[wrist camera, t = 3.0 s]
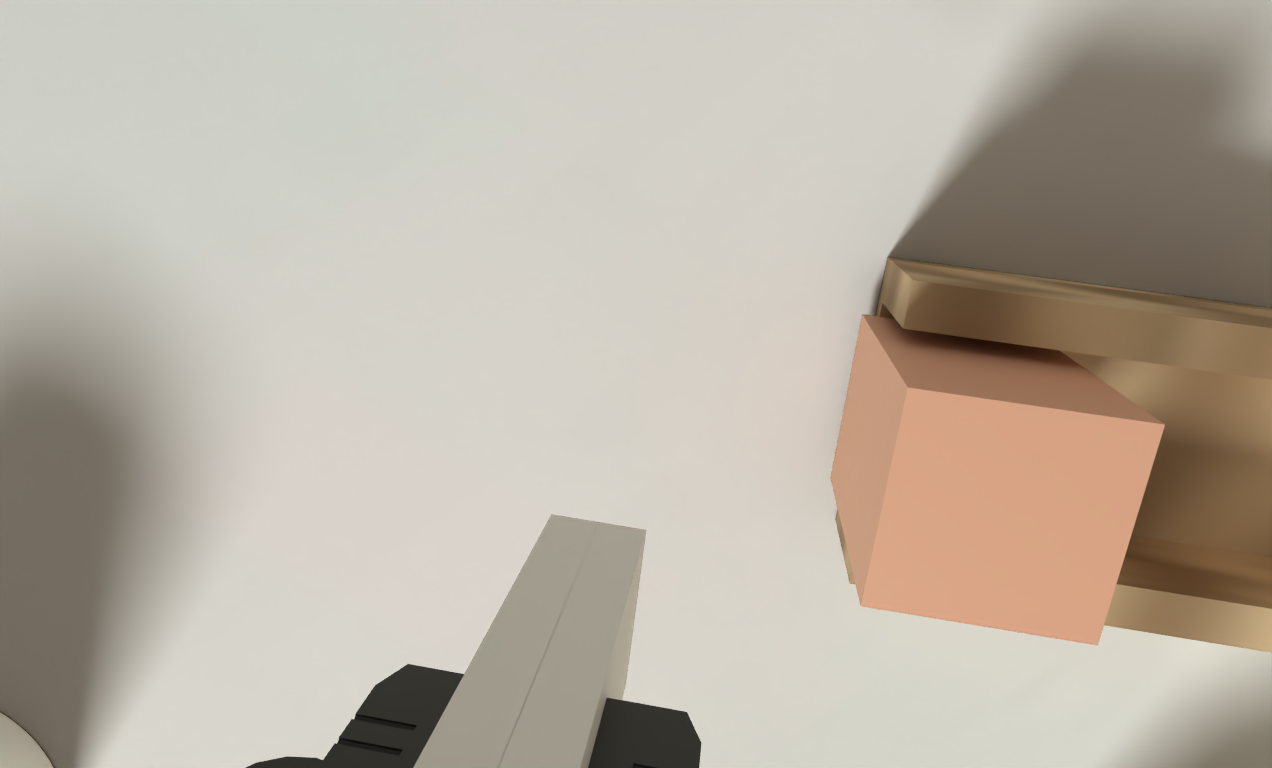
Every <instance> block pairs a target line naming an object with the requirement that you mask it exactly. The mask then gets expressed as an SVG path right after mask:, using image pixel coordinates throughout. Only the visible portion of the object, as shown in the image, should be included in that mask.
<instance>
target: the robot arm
mask: <svg viewBox="0 0 1272 768" xmlns="http://www.w3.org/2000/svg"><path fill="white" fill-rule="evenodd" d="M645 536H646V530H643V529H637V528H631V527H625V526H619V525H613V524H607V523H601V522H595V521H588V520H582V519H576V518H570V517H564V516H558V515H551V516H550V518H549V520H548V522H547V524H546V526H545V527H544V529H543V531H542V533H541V535H540V537H539V538H538V540H537V542H536V544H535V546H534V548H533V549H532V551H531V553H530V555H529V557H528V558H527V560H526V562H525V564H524V566H523V568H522V569H521V571H520V573H519V575H518V577H517V579H516V580H515V582H514V584H513V586H512V588H511V590H510V591H509V593H508V595H507V597H506V599H505V601H504V602H503V604H502V606H501V608H500V610H499V612H498V613H497V615H496V617H495V619H494V621H493V623H492V624H491V626H490V628H489V630H488V632H487V634H486V635H485V637H484V639H483V641H482V643H481V645H480V646H479V648H478V650H477V652H476V654H475V656H474V657H473V659H472V661H471V663H470V665H469V667H468V668H467V670H466V672H465V674H460V673H454V672H449V671H443V670H438V669H432V668H427V667H422V666H416V665H411V664H408V665H406V666H404V667H403V668H401V669H400V670H398V671H397V672H395V673H394V674H392V675H391V676H389V677H388V678H386V679H384V680H383V681H381V682H380V683H378V684H377V685H375V687H374V688H373V690H372V691H371V692H370V694H369V695H368V697H367V698H366V700H365V701H364V702H363V704H362V705H361V707H360V708H359V710H358V711H357V713H356V715H355V719H354V720H353V719H352V720H351V721H350V723H349V724H348V725H347V727H346V728H345V730H344V731H343V733H342V734H341V735H340V737H339V741H338V743H337V744H334V745H333V747H332V748H331V750H330V751H329V753H328V754H327V755H326V757H325V758H324V760H320V759H318V758H305V757H283V758H278V759H273V760H268V761H263V762H258V763H255V764H253V765H251V766H248V767H246V768H699V763H700V751H701V741H700V739H699V737H698V735H697V733H696V731H695V729H694V726H693V724H692V722H691V720H690V718H689V716H688V714H687V712H683V711H678V710H672V709H667V708H661V707H656V706H650V705H645V704H639V703H634V702H629V701H623V700H622V697H623V693H624V689H625V685H626V679H627V671H628V664H629V656H630V649H631V641H632V634H633V626H634V619H635V611H636V604H637V596H638V589H639V581H640V574H641V566H642V558H643V551H644V543H645Z"/></svg>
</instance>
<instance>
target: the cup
mask: <svg viewBox="0 0 1272 768" xmlns="http://www.w3.org/2000/svg"><path fill="white" fill-rule="evenodd" d="M0 768H53V766H52V764H51V762H50V761H49V759H48V758H47V756H46V754H45V753H44V752H43V750H42V749H41V748H40V746H39V745H38V744H37V743H36V742H35V741H34V740H33V738H32V737H31V736H30V735H29V734H28V733H27V732H26V731H25V730H23V729H22V728H21V727H20V726H19V725H17V724H16V723H15V722H14V721H12V720H11V719H9V718H8V717H7V716H5V715H3V714H2V713H0Z"/></svg>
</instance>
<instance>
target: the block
mask: <svg viewBox="0 0 1272 768" xmlns="http://www.w3.org/2000/svg"><path fill="white" fill-rule="evenodd" d="M1164 427H1165V424H1163V423H1162V422H1161V421H1159V420H1158V419H1156V418H1155V417H1153V416H1152V415H1151V414H1149V413H1148V412H1146V411H1145V410H1143V409H1142V408H1141V407H1139V406H1138V405H1136V404H1135V403H1134V402H1132V401H1131V400H1129V399H1128V398H1126V397H1125V396H1124V395H1122V394H1121V393H1119V392H1118V391H1116V390H1115V389H1114V388H1112V387H1111V386H1109V385H1108V384H1106V383H1105V382H1104V381H1102V380H1101V379H1099V378H1098V377H1097V376H1095V375H1094V374H1092V373H1091V372H1089V371H1088V370H1087V369H1085V368H1084V367H1082V366H1081V365H1079V364H1078V363H1077V362H1075V361H1074V360H1072V359H1071V358H1070V357H1068V356H1067V355H1065V354H1064V353H1062V352H1061V351H1060V350H1053V349H1046V348H1039V347H1032V346H1025V345H1017V344H1010V343H1003V342H996V341H989V340H981V339H974V338H967V337H960V336H953V335H945V334H938V333H931V332H924V331H917V330H909V329H903V328H902V327H901V325H900V324H899V323H898V322H897V320H896V319H892V318H885V317H878V316H871V315H863V314H862V318H861V323H860V328H859V333H858V338H857V344H856V349H855V354H854V359H853V364H852V369H851V374H850V380H849V385H848V390H847V395H846V400H845V405H844V410H843V416H842V421H841V426H840V431H839V436H838V441H837V447H836V452H835V457H834V462H833V467H832V472H831V477H830V478H831V482H832V486H833V491H834V495H835V499H836V503H837V507H838V512H839V516H840V520H841V524H842V529H843V533H844V537H845V541H846V546H847V550H848V554H849V558H850V562H851V567H852V571H853V575H854V579H855V584H856V588H857V592H858V596H859V601H860V605H861V606H863V607H869V608H875V609H881V610H887V611H893V612H899V613H905V614H911V615H917V616H923V617H929V618H935V619H942V620H948V621H954V622H960V623H966V624H972V625H978V626H984V627H990V628H996V629H1002V630H1008V631H1014V632H1020V633H1026V634H1032V635H1038V636H1044V637H1050V638H1056V639H1062V640H1068V641H1074V642H1080V643H1087V644H1093V645H1098V643H1099V639H1100V636H1101V633H1102V630H1103V626H1104V623H1105V620H1106V616H1107V613H1108V610H1109V607H1110V603H1111V600H1112V597H1113V594H1114V590H1115V587H1116V584H1117V580H1118V577H1119V574H1120V571H1121V567H1122V564H1123V561H1124V558H1125V554H1126V551H1127V548H1128V544H1129V541H1130V538H1131V535H1132V531H1133V528H1134V525H1135V521H1136V518H1137V515H1138V512H1139V508H1140V505H1141V502H1142V499H1143V495H1144V492H1145V489H1146V485H1147V482H1148V479H1149V476H1150V472H1151V469H1152V466H1153V463H1154V459H1155V456H1156V453H1157V449H1158V446H1159V443H1160V440H1161V436H1162V433H1163V430H1164Z"/></svg>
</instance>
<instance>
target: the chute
mask: <svg viewBox="0 0 1272 768" xmlns="http://www.w3.org/2000/svg"><path fill="white" fill-rule="evenodd" d="M876 316H878V317H885V318H892V319H896V320H897V322H898V323H899V324H900V325H901V327H902V328H903V329H909V330H917V331H924V332H931V333H938V334H945V335H953V336H960V337H967V338H974V339H981V340H989V341H996V342H1003V343H1010V344H1017V345H1025V346H1032V347H1039V348H1046V349H1053V350H1060V351H1061V352H1062V353H1064V354H1065V355H1067V356H1068V357H1070V358H1071V359H1072V360H1074V361H1075V362H1077V363H1078V364H1079V365H1081V366H1082V367H1084V368H1085V369H1087V370H1088V371H1089V372H1091V373H1092V374H1094V375H1095V376H1097V377H1098V378H1099V379H1101V380H1102V381H1104V382H1105V383H1106V384H1108V385H1109V386H1111V387H1112V388H1114V389H1115V390H1116V391H1118V392H1119V393H1121V394H1122V395H1124V396H1125V397H1126V398H1128V399H1129V400H1131V401H1132V402H1134V403H1135V404H1136V405H1138V406H1139V407H1141V408H1142V409H1143V410H1145V411H1146V412H1148V413H1149V414H1151V415H1152V416H1153V417H1155V418H1156V419H1158V420H1159V421H1161V422H1162V423H1163V424H1165V427H1164V430H1163V433H1162V436H1161V440H1160V443H1159V446H1158V449H1157V453H1156V456H1155V459H1154V463H1153V466H1152V469H1151V472H1150V476H1149V479H1148V482H1147V485H1146V489H1145V492H1144V495H1143V499H1142V502H1141V505H1140V508H1139V512H1138V515H1137V518H1136V521H1135V525H1134V528H1133V531H1132V535H1131V538H1130V541H1129V544H1128V548H1127V551H1126V554H1125V558H1124V561H1123V564H1122V567H1121V571H1120V574H1119V577H1118V580H1117V584H1116V587H1115V590H1114V594H1113V597H1112V600H1111V603H1110V607H1109V610H1108V613H1107V616H1106V620H1105V623H1104V625H1107V626H1113V627H1119V628H1125V629H1131V630H1137V631H1143V632H1149V633H1155V634H1162V635H1168V636H1174V637H1180V638H1186V639H1192V640H1198V641H1204V642H1210V643H1217V644H1223V645H1229V646H1235V647H1241V648H1247V649H1253V650H1259V651H1265V652H1272V308H1268V307H1261V306H1253V305H1246V304H1238V303H1231V302H1223V301H1216V300H1208V299H1200V298H1193V297H1185V296H1178V295H1170V294H1163V293H1155V292H1148V291H1140V290H1133V289H1125V288H1117V287H1110V286H1102V285H1095V284H1087V283H1080V282H1072V281H1065V280H1057V279H1049V278H1042V277H1034V276H1027V275H1019V274H1012V273H1004V272H997V271H989V270H981V269H974V268H966V267H959V266H951V265H944V264H936V263H929V262H921V261H913V260H906V259H898V258H891V257H887V262H886V267H885V272H884V277H883V282H882V288H881V293H880V298H879V303H878V308H877V313H876ZM835 520H836V524H837V529H838V533H839V537H840V542H841V546H842V551H843V555H844V560H845V564H846V569H847V573H848V578H849V582H850V584H855V579H854V575H853V571H852V567H851V562H850V558H849V554H848V550H847V546H846V541H845V537H844V533H843V529H842V524H841V520H840V516H839V512H838V509H837V514H836V519H835Z"/></svg>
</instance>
